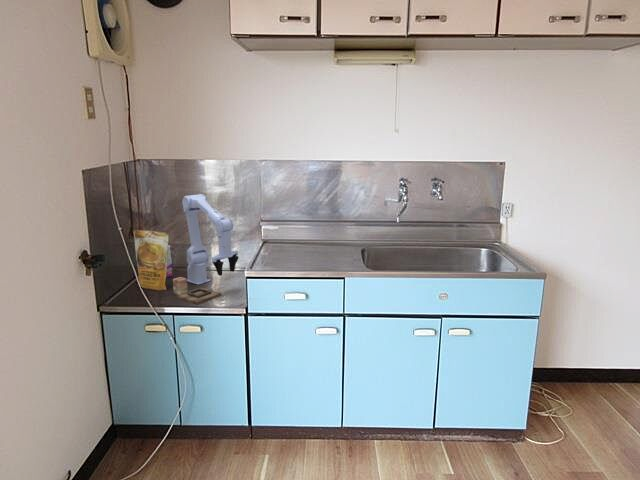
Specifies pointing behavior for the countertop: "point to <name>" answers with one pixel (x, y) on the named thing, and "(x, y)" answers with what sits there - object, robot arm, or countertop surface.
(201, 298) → the socket board
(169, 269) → the candy bar box
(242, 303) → the countertop surface
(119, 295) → the countertop surface
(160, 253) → the pancake mix bag
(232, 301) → the countertop surface
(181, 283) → the block stack
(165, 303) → the countertop surface
